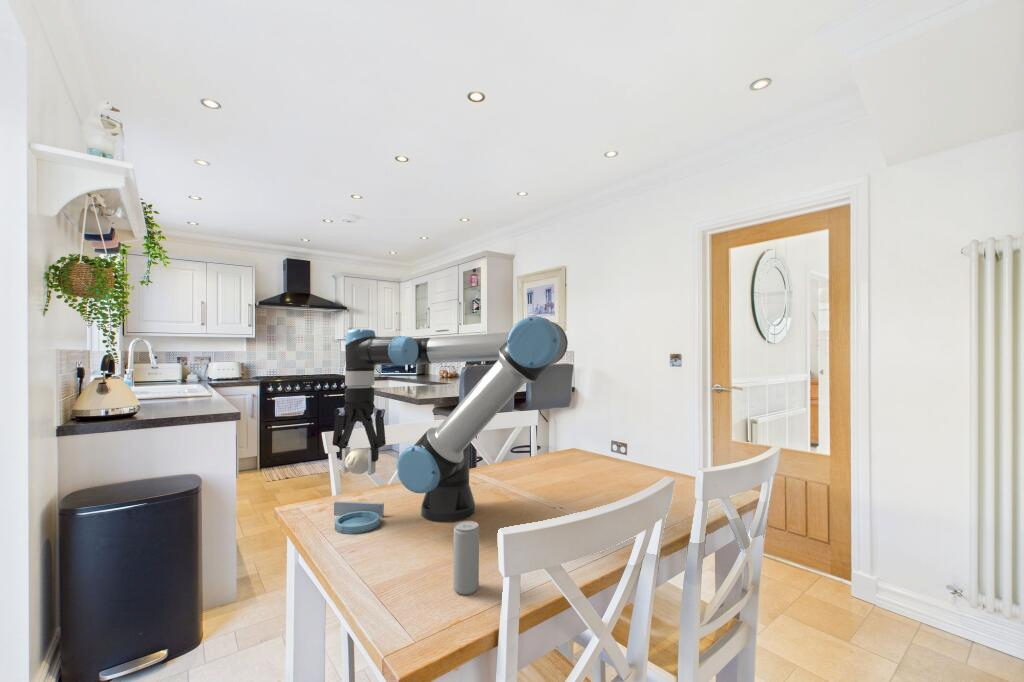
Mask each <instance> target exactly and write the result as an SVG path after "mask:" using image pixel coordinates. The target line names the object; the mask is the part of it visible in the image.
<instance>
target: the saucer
mask: <svg viewBox="0 0 1024 682" xmlns="http://www.w3.org/2000/svg"><path fill="white" fill-rule="evenodd" d="M380 523H381V517H380V516H379V514H378V513H375V512H372V511H358V512H350V513H347V514H344V515H338V517H336V518H334V530H335V532H337V533H340V534H343V535H345V534H346V535H355V534H356V535H357V534H363V533H367V532H370V531H373V530H375V529H376V528H378V527H379V525H380Z"/></svg>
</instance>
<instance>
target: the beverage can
mask: <svg viewBox="0 0 1024 682" xmlns="http://www.w3.org/2000/svg"><path fill="white" fill-rule="evenodd" d="M453 527H454V528H453V565H452V567H453V571H452V572H453V573H452V574H453V578H452V580H453V581H452V582H453V583H452V585H453V586H452V587H453V590H454V591H455V593H457V594H459V595H462V596H463V595H464V596H468V595H472V594H474V593H476V591H477V590H478V589H479V587H480V584H479V583H480V579H479V578H480V528H479V523H477V522H476V521H472V520H464V521H463V520H461V521H459V522H458V521H457V522H456V523H454V526H453Z"/></svg>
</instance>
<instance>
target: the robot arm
mask: <svg viewBox="0 0 1024 682" xmlns="http://www.w3.org/2000/svg"><path fill="white" fill-rule="evenodd" d="M568 344H569V343H568V336H567V334H566V332H565V330H564V329H563V328H562V326H560V325H559V324H557V323H555V322H553V321H551V320H550V319H548V318H545V317H542V316H529V317H526V318H523V319H521V320H519V321H518V322H517V323H515V324H514V325H513V326H512V328H511V329H510V331H509V332H507V331H506V332H492V333H478V334H464V335H462V334H461V335H450V336H435V337H420V338H417V337H415V338H414V337H413V336H412V337H411V336H405V335H404V336H403V335H396V336H377V335H376V331H375V330H373V329H365V328H364V329H363V328H362V329H361V328H360V329H359V328H357V329H356V328H355V329H349V330H347V332H346V336H345V344H344V347H345V349H344V350H345V372H344V376H345V377H344V386H346V388H345V389H344V401H345V404H344V406H343V407H338V408H335V409H334V410H333V414H334V417H335V418H334V426H333V433H332V434H333V436H332V443H331V445H333V446H335V447H338V448H339V451H338V452H339V455H338V456H339V457H338V459H339V460H340V461H341V474H346V473H349V472H350V471H349V470H348V469H347V468H346V466H345V459H346V457H347V455H348V454H349V453H350V452H351V446H349V442H350V439H351V436H352V432H353V430H354V427H355V425H356V424H357V422H358V423H359V422H360V423H361V424H362V426H363V427H364V430H365V433H366V436H367V441H368V443H369V445H370V446H369V447H370V448H369V449H367V450H368V471H367V475H368V476H371V475H373V474H375V473H376V462H377V461H378V460H379V452H380V451H379V450H380V448H382V447H384V446H386V431H385V430H386V429H385V421H384V417H385V412H386V409H384V408H381V409H380V408H377V407H376V406H375V388H374V387H373V386H374V385H375V369H376V366H379V365H382V366H383V365H385V366H410V365H425V364H427V365H429V364H443V363H445V364H447V363H449V364H450V363H466V362H467V363H468V362H469V363H470V362H486V361H489V362H493V361H496V362H495V363H494V364H493V365H492V366H491V368H489V369H488V371H487V372H486V373H485V374H484V375H483V376H482V377H481V378H480V380H479V381H478V382H477V383H476V384H475V385H474V387H472V389H471V390H470V391H469V392H468V393H467V395H465V397H464V398H463V399H462V400H461V401H460V402H459V403H458V404H457V406H456V407H455V408H454V409H453V410H452V411H451V412H450V414H449V415H448V416H447V417H446V418H445V419H444V420H443V422H442V423H441V424H440V425H439V426H438V427H430V428H428V429H427V430H426V432H425V433H423V435H421V437H420V438H419V439H418V441H417V442H415V443H414V444H413V445H411V446H409V447H406V448H405V449H404V450H403V451H402V452H401V453H400V455H399V456H398V459H397V463H396V469H397V476H398V479H399V481H400V482H401V484H402V486H403V487H404V488H405V489H407V490H408V491H410V492H411V493H415V494H419V495H421V494H424V496H423V500H422V503H421V506H420V510H421V511H420V512H421V513H420V514H421V516H422V517H423V518H424V519H426V520H429V521H432V522H433V521H435V522H456V521H457V522H458V521H463V520H466V519H468V518H470V517H472V516H473V515H474V514H475V513H476V501H475V498H474V495H473V492H472V490H471V489H472V488H471V485H470V449H471V448H470V446H471V443H472V442H473V440H474V439H476V437H477V436H478V435H479V434H480V433H481V432H482V430H484V428H485V427H486V426H487V425H488V424H489V423H490V422H491V421H492V419H494V417H495V416H496V415H497V414H498V413H499V412H500V411H501V410H502V409H503V407H504V406H505V405H506V404H507V403H509V401H510V400H511V399H512V398H513V397H514V396H515V394H517V392H518V391H519V390H521V388H522V387H523V386H524V385H525V384H527V383H535V382H536V381H537V380H538V379H539V378H540V377H541V375H543V374H544V372H545V371H546V370H547V369H548V368H549V367H550V366H552V365H555V364H557V363H558V362H559V361H560V360H562V359H563V357H565V355H566V352H567V350H568ZM345 415H347V418H346V420H345ZM372 415H373V416H374V417H375V418H374V421H373V418H372ZM344 422H345V423H344ZM373 422H375V428H374V424H373ZM344 424H345V426H344Z"/></svg>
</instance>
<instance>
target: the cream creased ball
mask: <svg viewBox="0 0 1024 682" xmlns="http://www.w3.org/2000/svg"><path fill="white" fill-rule="evenodd" d="M368 450H369V449H367V448H363V447H358V448H354V449H352V450H350V453H349V454H348V455H347V457H346V459H345V466H346V468H347V469H348V470H349V472H350V473H351V474H355V475H362V474H364V473H368Z"/></svg>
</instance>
